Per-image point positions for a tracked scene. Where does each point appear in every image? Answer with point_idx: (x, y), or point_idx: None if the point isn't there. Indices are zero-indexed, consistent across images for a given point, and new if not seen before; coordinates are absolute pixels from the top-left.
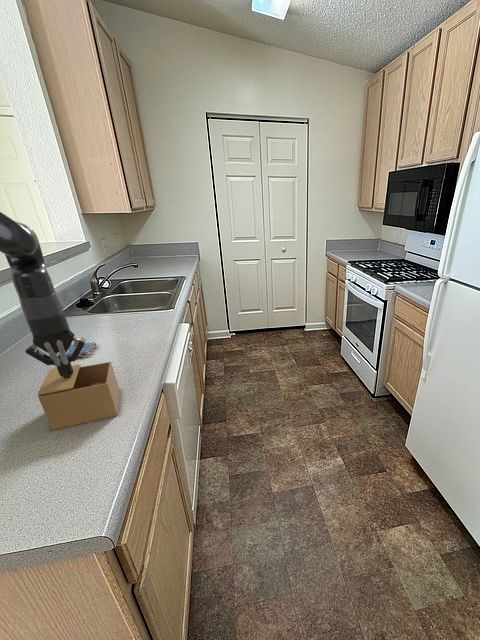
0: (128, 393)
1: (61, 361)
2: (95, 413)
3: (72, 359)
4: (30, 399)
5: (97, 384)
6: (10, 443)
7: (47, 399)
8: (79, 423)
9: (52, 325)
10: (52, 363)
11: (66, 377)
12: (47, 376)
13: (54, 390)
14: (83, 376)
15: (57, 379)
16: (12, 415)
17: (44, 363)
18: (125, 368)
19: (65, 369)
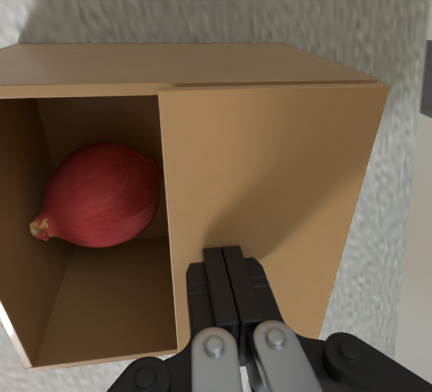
0: None
1: (251, 369)
2: (101, 48)
3: (148, 376)
4: (348, 271)
5: (89, 220)
6: (417, 11)
7: (320, 73)
8: (182, 43)
9: None
10: (315, 351)
11: (224, 247)
12: (325, 291)
13: (284, 90)
14: None
15: (275, 246)
16: (395, 202)
17: (379, 351)
18: (93, 365)
19: (223, 294)
